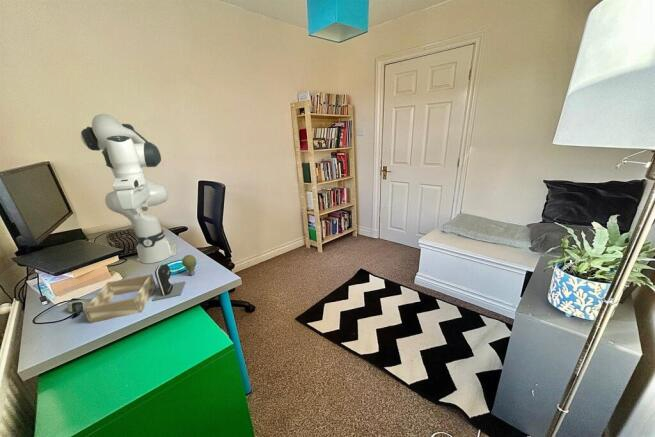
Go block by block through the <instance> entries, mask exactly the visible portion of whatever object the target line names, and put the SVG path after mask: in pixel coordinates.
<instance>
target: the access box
mask: <svg viewBox="0 0 655 437" xmlns="http://www.w3.org/2000/svg"><path fill="white" fill-rule="evenodd" d="M155 281H156V280H155V278H154V275H153V274H152V273H150V274H146V275H139V276H134V277H130V278H123V279H117V280H112V281H109V282H107V283H106V284H105V285H104V286H103V287H102V288H101V290H100V291H99V292H97V294H96V295H95V296H94V297H93V298H92V299H93V300H92V301H91V302H90V303H89V304H88V305H87V306H86V307H85V309H84V314H85V316H86V318H87V320H88V322H89V324H92V323H97V322H98V323H99V322H102V321H107V320H113V319H115V318H120V317H125V316H129V315H135V314H138V313H139V314H140V313H142V312H143V310H144V308H145V307H146V305H147V303H148V301H149V300H150V298H151V296H152V294H153V292H154V291H155V289H156V287H157V284H156V282H155ZM137 291H138V292H137ZM132 292H137V293H136V295H135V296H134V297H131V298H127V299H121V300H116V301H112V302H110V301H111V300H112V299H113V298H114V296H117V295H122V294H123V295H124V294H127V293H132Z"/></svg>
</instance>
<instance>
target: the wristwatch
mask: <svg viewBox="0 0 655 437" xmlns="http://www.w3.org/2000/svg"><path fill="white" fill-rule="evenodd" d="M93 299H94V298H84V299H78V300H72V301H70V302H67V311H69V312H71V313H74V314H75V313H77V312H80V313H79V314H82V313H81V312H83V313H85V311H84V309H85V307H86V306H87V305H88V304H89V303H90V302H91V301H92V300H93ZM77 314H78V313H77Z"/></svg>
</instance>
